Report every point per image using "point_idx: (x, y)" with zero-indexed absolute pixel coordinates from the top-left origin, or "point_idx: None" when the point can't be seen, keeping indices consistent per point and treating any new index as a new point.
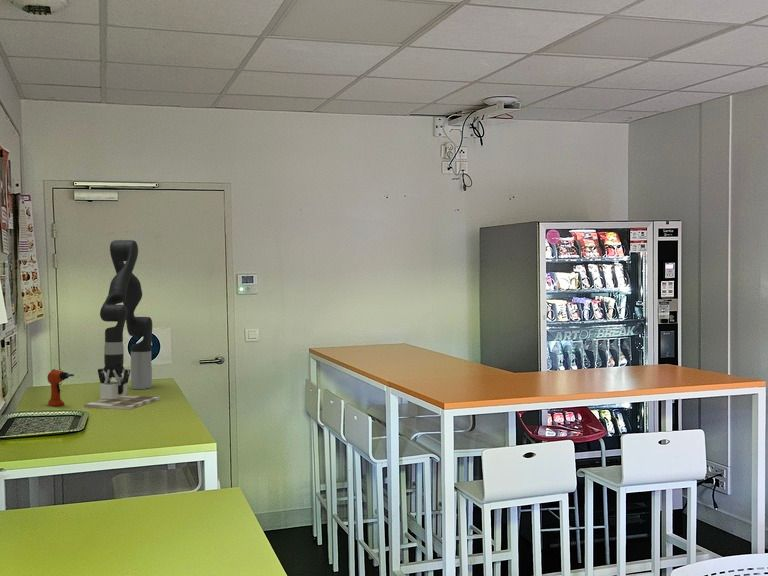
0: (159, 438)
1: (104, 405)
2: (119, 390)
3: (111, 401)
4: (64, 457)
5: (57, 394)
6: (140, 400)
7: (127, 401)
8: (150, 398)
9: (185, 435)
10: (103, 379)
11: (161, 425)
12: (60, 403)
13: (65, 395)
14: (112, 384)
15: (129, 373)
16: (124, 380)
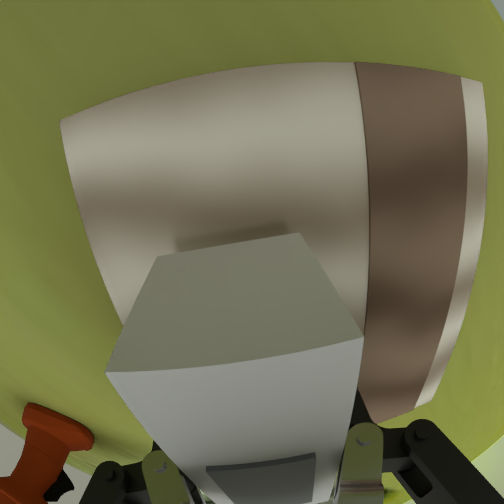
0: (487, 442)
1: None
2: None
3: None
4: (410, 500)
5: (62, 467)
6: (447, 281)
7: (385, 346)
8: (469, 164)
9: None
10: (105, 493)
11: (497, 417)
12: (90, 446)
13: None
14: (314, 495)
15: (493, 494)
16: (420, 474)
